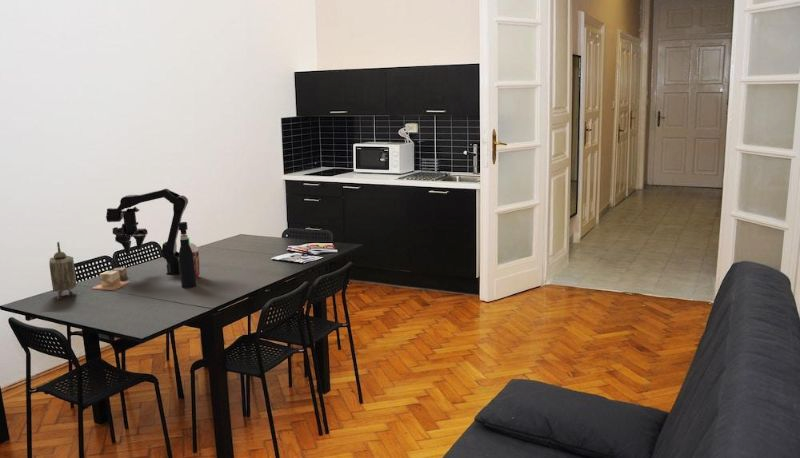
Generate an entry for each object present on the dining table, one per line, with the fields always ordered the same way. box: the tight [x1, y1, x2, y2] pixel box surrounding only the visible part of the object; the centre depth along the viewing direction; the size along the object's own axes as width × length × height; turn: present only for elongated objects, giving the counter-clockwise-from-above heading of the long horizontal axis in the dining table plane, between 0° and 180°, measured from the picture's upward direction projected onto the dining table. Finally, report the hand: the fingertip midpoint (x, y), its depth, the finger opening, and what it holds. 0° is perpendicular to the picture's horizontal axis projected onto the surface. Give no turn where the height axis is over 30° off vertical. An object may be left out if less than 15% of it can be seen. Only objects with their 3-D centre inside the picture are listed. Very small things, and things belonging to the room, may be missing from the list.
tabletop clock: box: [48, 241, 77, 301], centre depth 312 cm, size 14×9×25 cm, turn 23°
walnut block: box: [111, 267, 128, 281], centre depth 341 cm, size 5×5×5 cm
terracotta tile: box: [91, 280, 131, 291], centre depth 328 cm, size 12×12×1 cm
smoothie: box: [188, 237, 201, 279], centre depth 335 cm, size 8×8×20 cm
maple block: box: [99, 270, 121, 287], centre depth 327 cm, size 6×6×6 cm
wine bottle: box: [178, 221, 197, 289], centre depth 319 cm, size 6×6×30 cm
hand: (133, 252), depth 343 cm, fingers open, 9 cm apart
